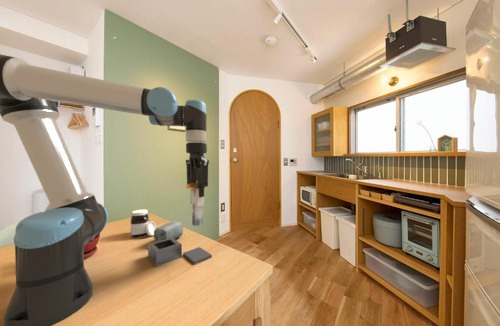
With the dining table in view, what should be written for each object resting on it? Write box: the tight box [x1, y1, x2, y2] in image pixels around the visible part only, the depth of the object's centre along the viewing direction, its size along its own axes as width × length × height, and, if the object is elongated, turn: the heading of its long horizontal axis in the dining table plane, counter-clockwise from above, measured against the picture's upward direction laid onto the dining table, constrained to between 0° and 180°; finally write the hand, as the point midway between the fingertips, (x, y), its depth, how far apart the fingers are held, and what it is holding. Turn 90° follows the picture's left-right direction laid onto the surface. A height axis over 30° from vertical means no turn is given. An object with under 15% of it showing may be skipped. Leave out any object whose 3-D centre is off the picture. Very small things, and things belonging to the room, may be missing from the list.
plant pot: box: [84, 232, 101, 260], centre depth 72 cm, size 13×13×12 cm
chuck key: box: [185, 183, 204, 227], centre depth 72 cm, size 4×8×16 cm, turn 134°
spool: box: [153, 220, 184, 242], centre depth 86 cm, size 14×10×10 cm
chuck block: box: [147, 237, 183, 268], centre depth 71 cm, size 9×9×5 cm
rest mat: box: [182, 246, 213, 265], centre depth 72 cm, size 7×9×1 cm
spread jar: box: [130, 208, 158, 238], centre depth 93 cm, size 12×11×12 cm
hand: (197, 204), depth 72 cm, fingers closed on chuck key, 4 cm apart
